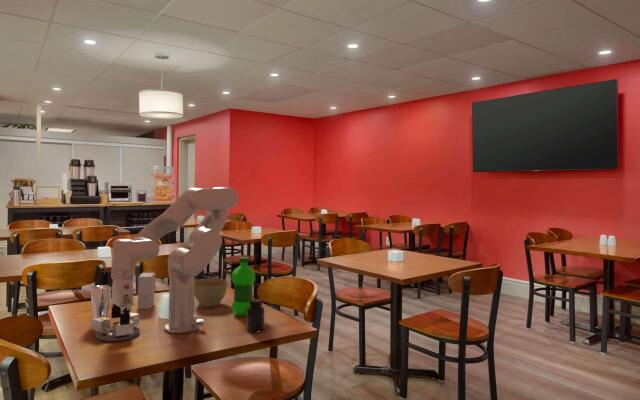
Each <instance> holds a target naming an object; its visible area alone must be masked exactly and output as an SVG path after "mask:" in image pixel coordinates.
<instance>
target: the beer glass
mask: <svg viewBox="0 0 640 400" xmlns="http://www.w3.org/2000/svg"><path fill="white" fill-rule="evenodd" d="M90 293H91V294H90V295H91V297H90V303H91V309H92V313H93V314H92V315H93V317H92V318H96V317H100V316H101V317H104V318H108V319H109V309H110V306H111V299H112V293H111V286H110V285H109V284H104V285H103V284H100V285H94V286H92V287H91V292H90Z"/></svg>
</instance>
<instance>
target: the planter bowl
mask: <svg viewBox="0 0 640 400" xmlns="http://www.w3.org/2000/svg"><path fill="white" fill-rule="evenodd" d="M228 284H229V283H228V280H226V279H223V278H201V279H196V280H195V292H194V298H195V299H196V301H197V302H198V304H199V306H200V307H204V308H213V307H212V306H214V307H218V306H220V305H221V302H222V301H223V300H224V298H225V296H226V293H227V289H228ZM219 304H220V305H219ZM217 305H218V306H217Z"/></svg>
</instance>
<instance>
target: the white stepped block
mask: <svg viewBox="0 0 640 400" xmlns="http://www.w3.org/2000/svg"><path fill="white" fill-rule="evenodd" d="M130 320H132V322H133V326H134V327H137V326H138V325H140V313H136V312H130Z"/></svg>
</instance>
